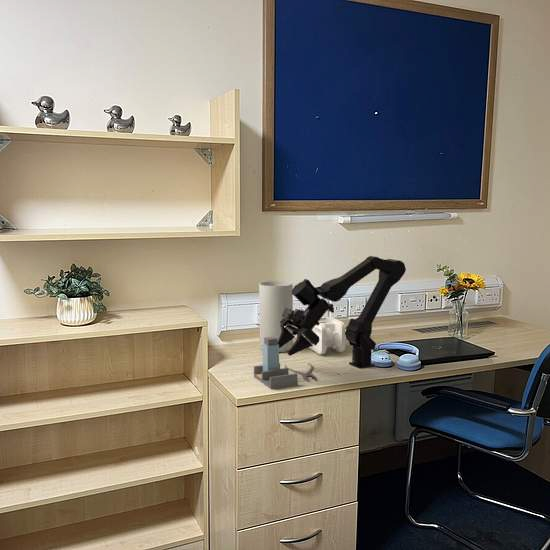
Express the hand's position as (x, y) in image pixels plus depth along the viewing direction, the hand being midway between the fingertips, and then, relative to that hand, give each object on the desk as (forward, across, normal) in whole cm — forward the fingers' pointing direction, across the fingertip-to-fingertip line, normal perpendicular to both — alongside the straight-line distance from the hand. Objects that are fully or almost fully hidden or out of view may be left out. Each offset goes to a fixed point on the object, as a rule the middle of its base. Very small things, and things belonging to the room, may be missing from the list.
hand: (282, 351), depth 198 cm
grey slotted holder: (+9, +3, +3) cm, 10 cm away
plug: (+8, 0, +2) cm, 8 cm away
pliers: (0, -1, +13) cm, 13 cm away
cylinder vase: (-3, -32, +15) cm, 36 cm away
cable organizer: (-13, -22, +26) cm, 36 cm away
